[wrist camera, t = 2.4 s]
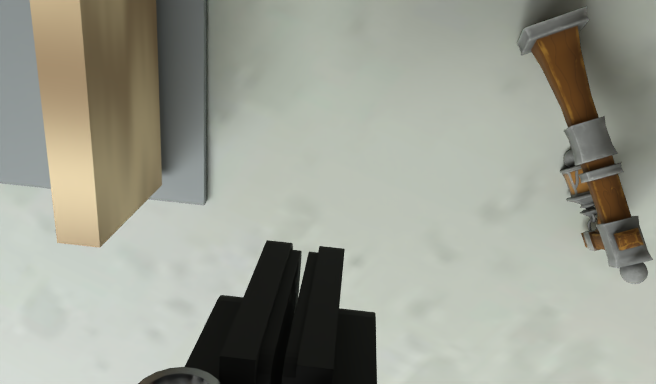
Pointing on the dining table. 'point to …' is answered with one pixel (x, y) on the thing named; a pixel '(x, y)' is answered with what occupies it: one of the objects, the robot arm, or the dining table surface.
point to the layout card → (174, 99)
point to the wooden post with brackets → (588, 145)
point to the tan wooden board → (98, 111)
